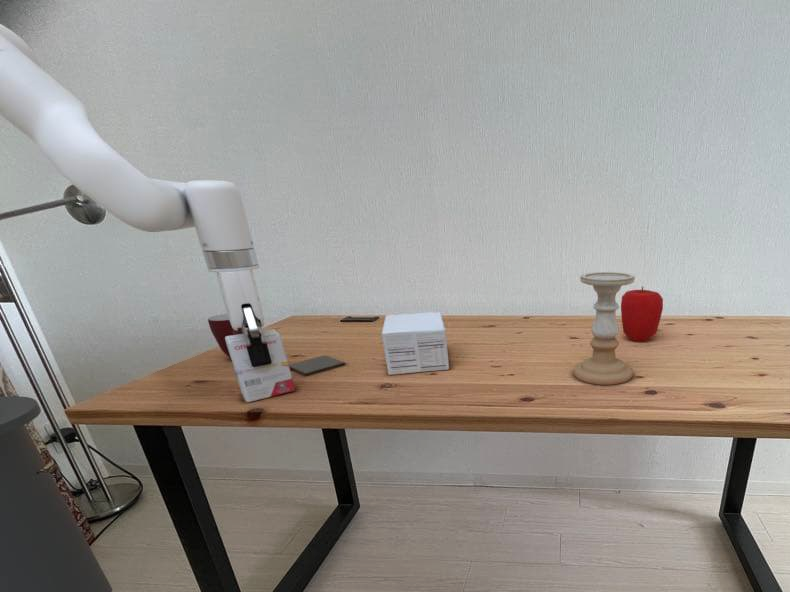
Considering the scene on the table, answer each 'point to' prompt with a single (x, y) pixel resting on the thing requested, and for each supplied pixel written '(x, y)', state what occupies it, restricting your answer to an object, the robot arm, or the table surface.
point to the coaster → (315, 365)
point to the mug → (222, 330)
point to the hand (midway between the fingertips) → (259, 360)
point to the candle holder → (605, 332)
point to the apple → (641, 314)
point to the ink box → (261, 368)
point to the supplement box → (415, 343)
